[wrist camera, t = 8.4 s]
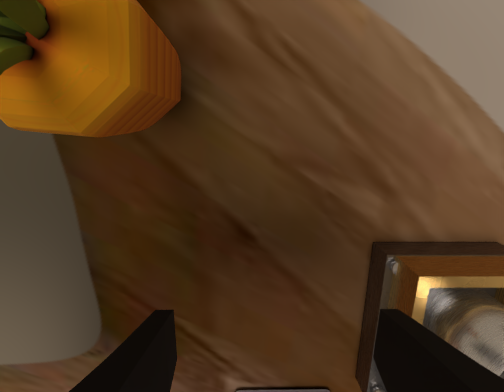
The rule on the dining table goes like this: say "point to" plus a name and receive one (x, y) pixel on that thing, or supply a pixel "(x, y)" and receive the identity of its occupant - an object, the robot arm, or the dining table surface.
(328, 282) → the dining table surface
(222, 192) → the dining table surface
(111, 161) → the dining table surface
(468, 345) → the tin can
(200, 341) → the dining table surface
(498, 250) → the grey and gold fixture
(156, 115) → the carrot
